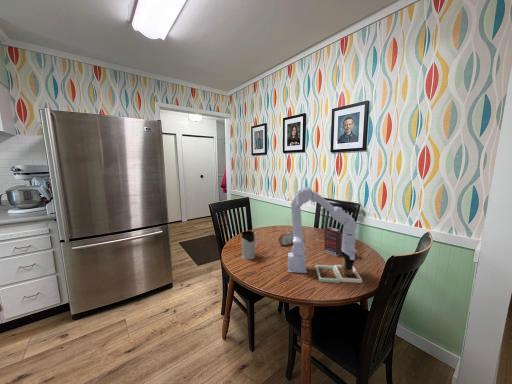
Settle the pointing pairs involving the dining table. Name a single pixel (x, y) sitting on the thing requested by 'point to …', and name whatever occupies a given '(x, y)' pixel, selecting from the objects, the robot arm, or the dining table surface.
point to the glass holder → (248, 244)
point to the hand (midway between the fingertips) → (347, 267)
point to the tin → (286, 238)
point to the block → (345, 271)
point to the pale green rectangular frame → (327, 278)
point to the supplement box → (332, 241)
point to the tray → (348, 278)
